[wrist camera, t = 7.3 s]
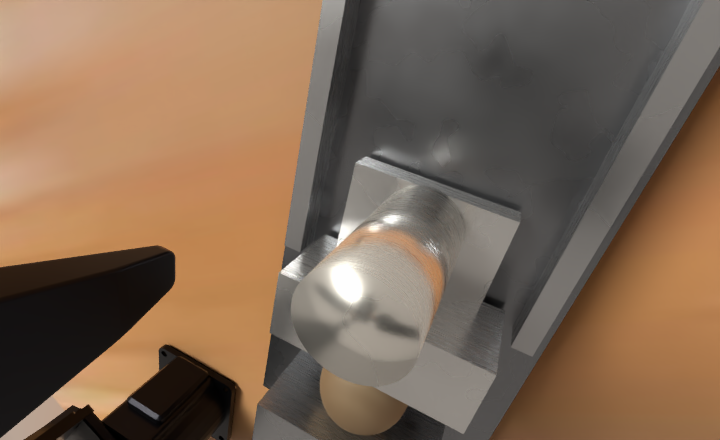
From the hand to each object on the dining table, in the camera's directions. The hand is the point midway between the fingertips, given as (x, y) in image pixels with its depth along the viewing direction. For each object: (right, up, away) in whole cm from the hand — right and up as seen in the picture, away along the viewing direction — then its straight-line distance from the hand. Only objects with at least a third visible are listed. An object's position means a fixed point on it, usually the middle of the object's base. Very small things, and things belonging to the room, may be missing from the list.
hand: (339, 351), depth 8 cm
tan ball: (+2, -3, +10) cm, 11 cm away
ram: (+3, +1, +8) cm, 8 cm away
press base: (+3, +1, +9) cm, 10 cm away
